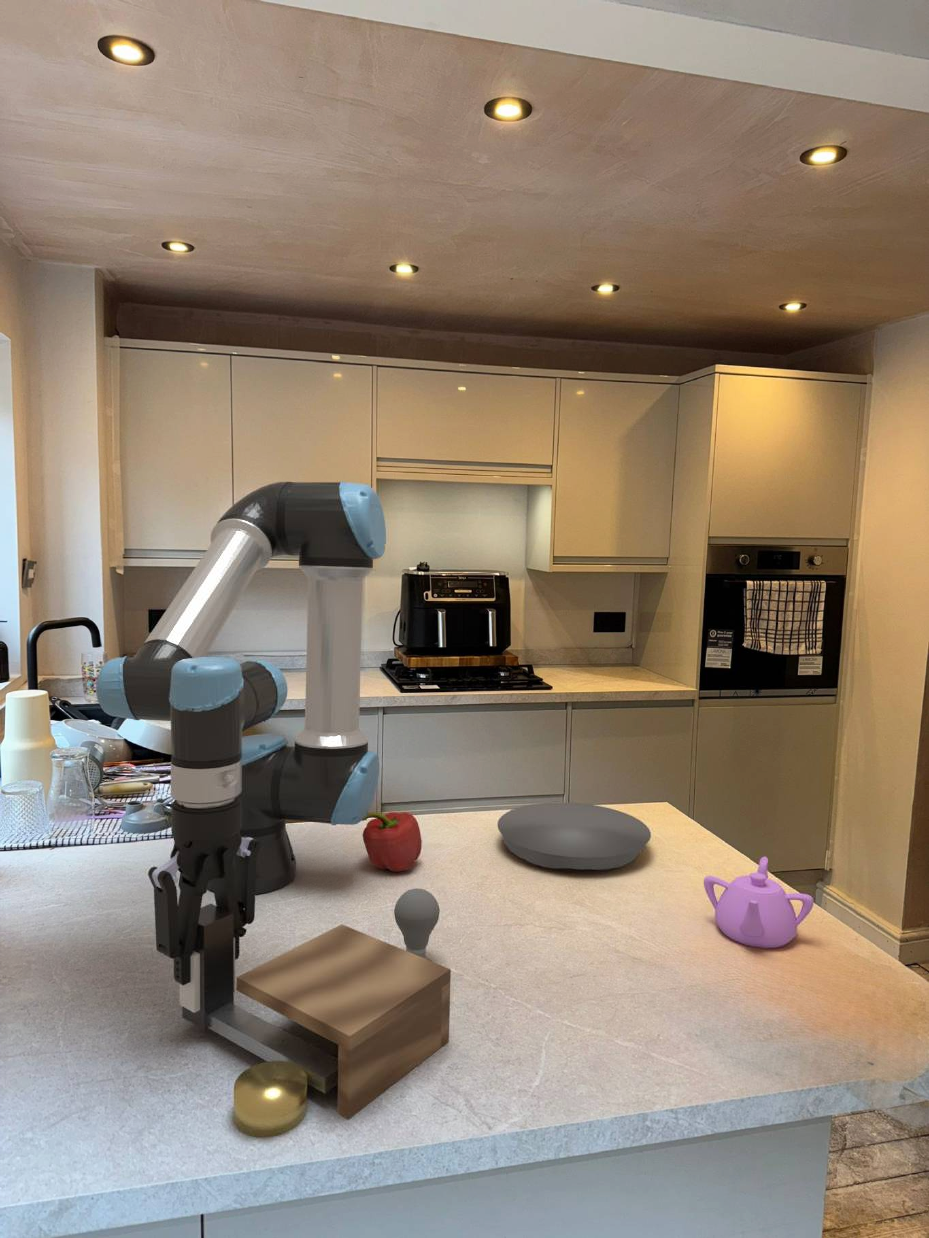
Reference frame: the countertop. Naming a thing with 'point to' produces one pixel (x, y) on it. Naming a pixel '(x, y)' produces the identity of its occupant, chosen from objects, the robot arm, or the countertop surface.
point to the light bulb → (416, 919)
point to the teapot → (757, 909)
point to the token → (270, 1099)
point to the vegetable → (392, 840)
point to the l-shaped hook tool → (235, 1021)
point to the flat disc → (573, 835)
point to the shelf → (359, 1006)
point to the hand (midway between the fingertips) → (207, 997)
